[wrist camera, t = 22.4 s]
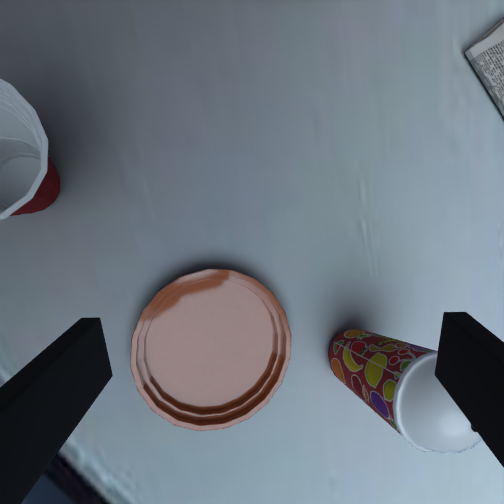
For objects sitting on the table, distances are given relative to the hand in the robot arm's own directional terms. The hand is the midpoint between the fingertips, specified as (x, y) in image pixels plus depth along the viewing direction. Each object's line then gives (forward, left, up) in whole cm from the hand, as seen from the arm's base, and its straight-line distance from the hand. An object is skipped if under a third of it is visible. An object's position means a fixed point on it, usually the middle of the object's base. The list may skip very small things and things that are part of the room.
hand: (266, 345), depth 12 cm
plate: (+5, +5, -24) cm, 25 cm away
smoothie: (-4, +20, -24) cm, 31 cm away
